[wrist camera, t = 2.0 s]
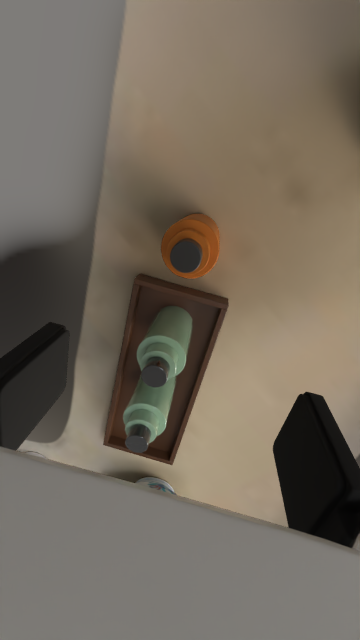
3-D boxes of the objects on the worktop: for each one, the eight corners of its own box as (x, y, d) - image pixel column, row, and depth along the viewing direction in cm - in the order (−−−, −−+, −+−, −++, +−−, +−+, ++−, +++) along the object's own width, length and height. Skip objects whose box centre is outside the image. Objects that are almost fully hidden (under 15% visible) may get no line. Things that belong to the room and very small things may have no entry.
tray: (139, 273, 31) (134, 278, 29) (228, 298, 31) (228, 305, 29) (108, 434, 42) (103, 444, 40) (174, 453, 42) (172, 465, 40)
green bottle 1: (158, 300, 32) (132, 345, 22) (197, 312, 32) (188, 361, 22) (150, 335, 34) (122, 390, 24) (187, 346, 34) (174, 405, 24)
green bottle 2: (144, 359, 35) (116, 419, 26) (180, 369, 35) (165, 434, 25) (138, 387, 37) (109, 454, 27) (171, 397, 37) (154, 467, 27)
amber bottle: (180, 207, 28) (160, 214, 18) (225, 220, 28) (228, 233, 18) (170, 253, 30) (146, 279, 20) (211, 265, 30) (208, 297, 20)
